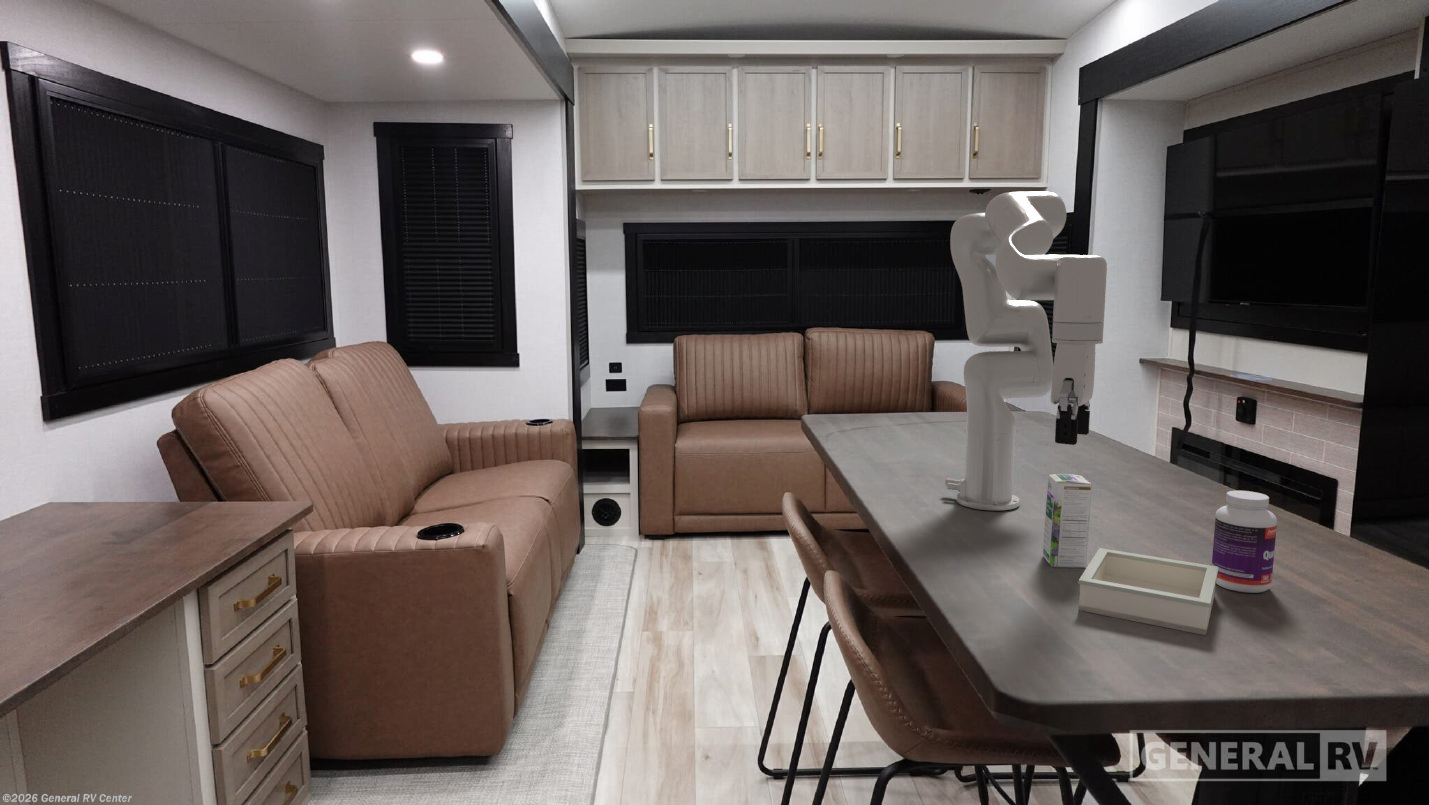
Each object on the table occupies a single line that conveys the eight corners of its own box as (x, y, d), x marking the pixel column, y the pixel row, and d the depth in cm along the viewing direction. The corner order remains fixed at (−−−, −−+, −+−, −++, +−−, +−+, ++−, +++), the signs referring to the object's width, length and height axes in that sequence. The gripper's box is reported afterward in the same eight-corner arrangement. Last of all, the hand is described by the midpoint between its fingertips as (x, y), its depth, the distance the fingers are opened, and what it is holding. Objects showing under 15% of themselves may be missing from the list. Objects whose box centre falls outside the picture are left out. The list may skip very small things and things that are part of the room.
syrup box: (1041, 556, 147) (1045, 473, 144) (1077, 556, 146) (1082, 473, 144) (1050, 567, 141) (1055, 481, 139) (1088, 568, 140) (1093, 482, 138)
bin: (1076, 610, 124) (1078, 580, 123) (1097, 575, 137) (1099, 547, 137) (1207, 636, 115) (1210, 603, 114) (1216, 596, 128) (1218, 566, 128)
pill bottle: (1271, 599, 127) (1280, 505, 125) (1208, 589, 131) (1216, 497, 129) (1270, 582, 134) (1279, 492, 131) (1211, 572, 138) (1218, 485, 136)
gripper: (1064, 329, 147) (1059, 428, 149) (1040, 336, 132) (1035, 445, 135) (1112, 330, 142) (1106, 432, 145) (1092, 338, 128) (1086, 450, 131)
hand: (1072, 438), depth 140 cm, fingers open, 9 cm apart
